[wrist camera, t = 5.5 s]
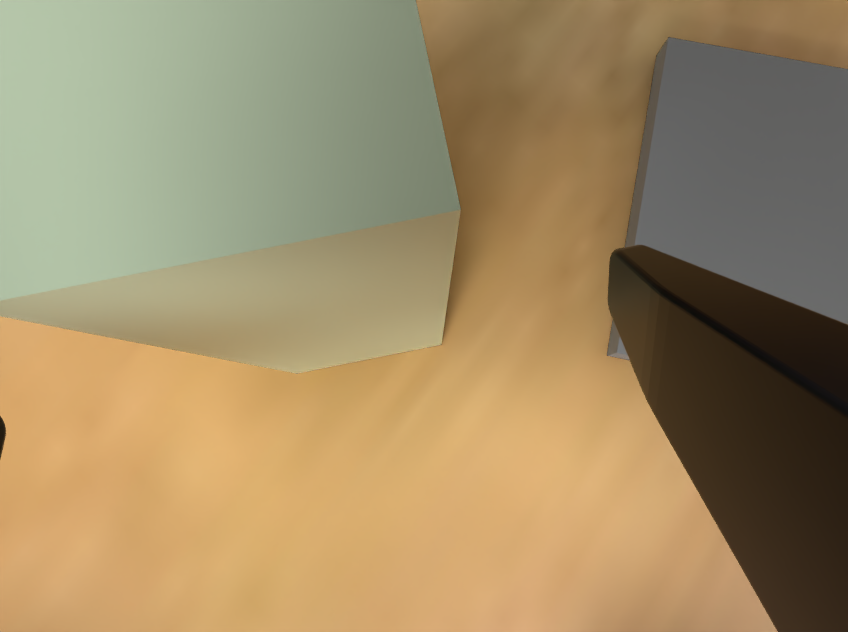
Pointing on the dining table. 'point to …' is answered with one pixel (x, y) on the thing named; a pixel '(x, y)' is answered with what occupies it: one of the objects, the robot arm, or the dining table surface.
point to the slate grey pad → (747, 173)
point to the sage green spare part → (226, 177)
